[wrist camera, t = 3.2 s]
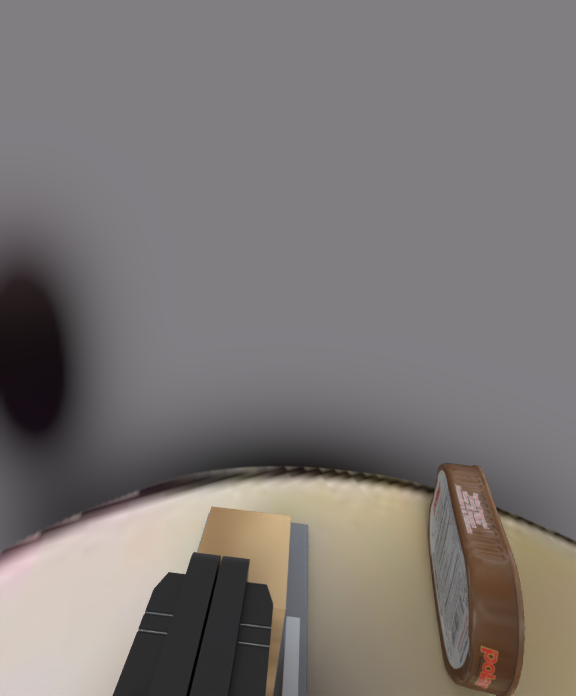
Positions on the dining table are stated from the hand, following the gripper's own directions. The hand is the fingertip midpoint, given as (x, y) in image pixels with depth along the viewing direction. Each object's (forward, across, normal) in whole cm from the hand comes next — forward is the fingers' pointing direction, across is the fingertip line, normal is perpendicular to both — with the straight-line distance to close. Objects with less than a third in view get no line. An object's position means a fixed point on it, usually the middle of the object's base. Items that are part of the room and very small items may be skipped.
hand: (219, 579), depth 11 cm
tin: (+14, -14, +16) cm, 26 cm away
